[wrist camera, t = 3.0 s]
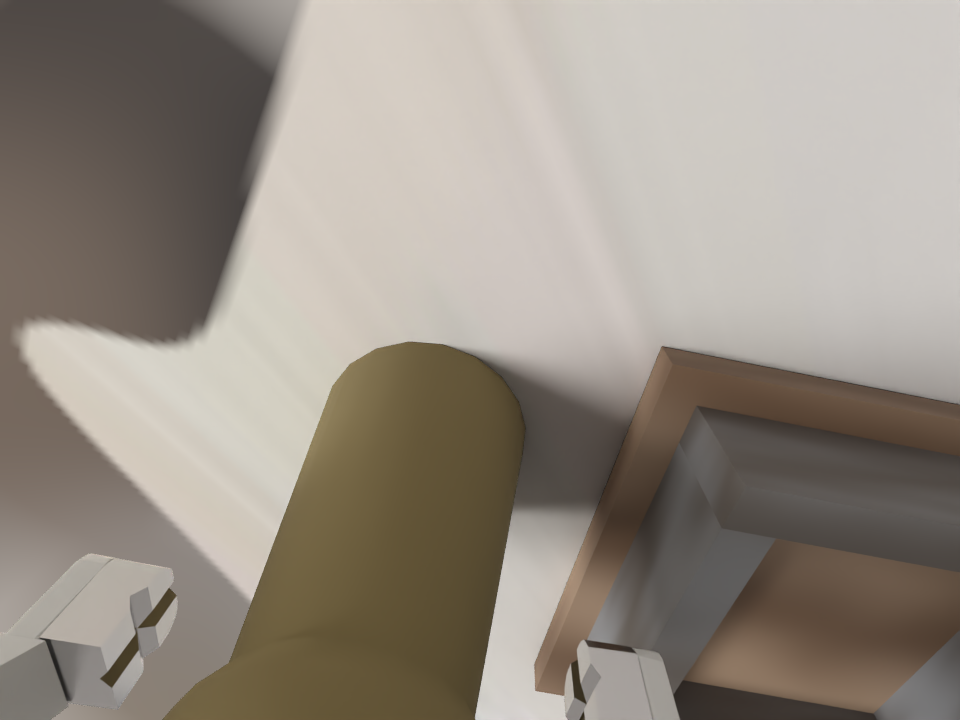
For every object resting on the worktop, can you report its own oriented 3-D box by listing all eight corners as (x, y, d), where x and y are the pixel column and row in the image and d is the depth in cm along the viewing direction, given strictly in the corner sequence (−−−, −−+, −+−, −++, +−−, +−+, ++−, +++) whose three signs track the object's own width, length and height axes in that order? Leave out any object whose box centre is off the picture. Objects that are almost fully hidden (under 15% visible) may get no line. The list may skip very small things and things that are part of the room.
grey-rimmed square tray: (661, 346, 13) (718, 437, 9) (1173, 447, 13) (1414, 570, 10) (534, 664, 19) (539, 788, 16) (879, 724, 20) (958, 857, 16)
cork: (376, 302, 13) (-66, 922, 3) (566, 407, 14) (690, 1107, 4) (296, 455, 15) (-84, 1062, 6) (462, 534, 16) (388, 1154, 7)
